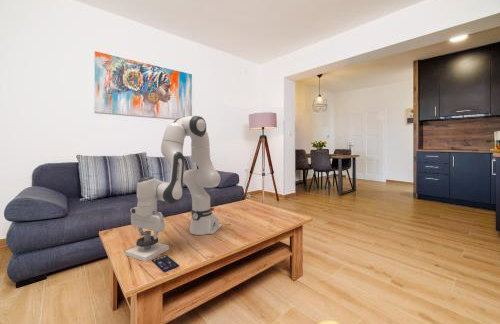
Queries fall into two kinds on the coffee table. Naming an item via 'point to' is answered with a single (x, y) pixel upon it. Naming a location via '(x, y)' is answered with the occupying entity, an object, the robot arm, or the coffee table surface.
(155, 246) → the pipe stand
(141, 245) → the ring
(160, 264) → the smartphone
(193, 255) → the coffee table surface
